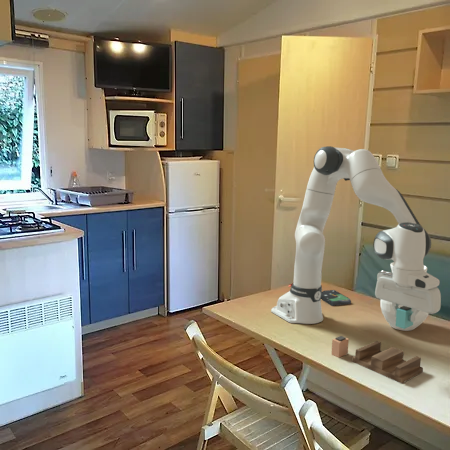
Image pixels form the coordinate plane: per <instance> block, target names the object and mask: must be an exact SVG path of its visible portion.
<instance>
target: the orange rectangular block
mask: <svg viewBox="0 0 450 450" xmlns="http://www.w3.org/2000/svg"><path fill="white" fill-rule="evenodd" d="M349 340H350V338H348V337H344V336H343V335H340V336H337V337H335V338H333V339H332V340H331V341H332V342H331V356H333V357H336V358H338V359H339V358H341V357H344V356H346V355H348V354H349Z"/></svg>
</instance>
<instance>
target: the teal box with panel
mask: <svg viewBox="0 0 450 450" xmlns="http://www.w3.org/2000/svg"><path fill="white" fill-rule="evenodd" d="M412 313H413V312H412V308H409V307H406V306H402V307H400V308H398V309H397V313H396V326H397V327H400V328H403V329H405V328H407V327H410V326H412V325H413V322H411V321H408V315H411V314H412Z"/></svg>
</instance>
